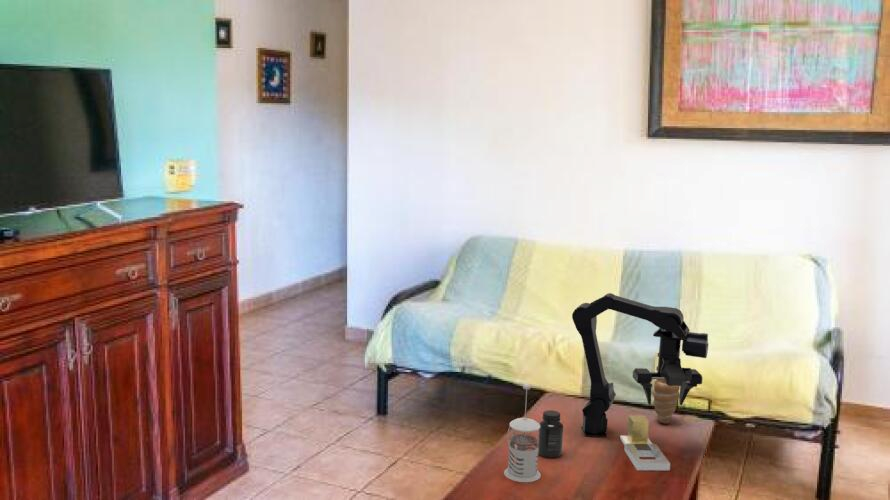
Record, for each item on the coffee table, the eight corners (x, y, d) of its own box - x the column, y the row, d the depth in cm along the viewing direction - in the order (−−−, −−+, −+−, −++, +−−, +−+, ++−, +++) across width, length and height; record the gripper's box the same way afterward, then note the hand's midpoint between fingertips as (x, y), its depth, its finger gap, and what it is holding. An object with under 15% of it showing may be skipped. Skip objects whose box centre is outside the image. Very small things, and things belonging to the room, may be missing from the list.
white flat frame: (637, 470, 224) (637, 463, 224) (624, 450, 237) (624, 443, 237) (669, 470, 225) (670, 463, 224) (655, 450, 237) (655, 443, 237)
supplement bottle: (564, 451, 235) (567, 411, 233) (557, 460, 229) (560, 419, 227) (541, 446, 238) (544, 406, 235) (534, 455, 232) (536, 414, 229)
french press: (516, 485, 214) (521, 392, 209) (493, 466, 224) (497, 378, 219) (548, 478, 218) (553, 387, 213) (524, 460, 228) (528, 373, 224)
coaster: (627, 449, 237) (627, 446, 237) (619, 438, 245) (620, 435, 245) (654, 449, 238) (654, 447, 238) (646, 438, 246) (646, 435, 246)
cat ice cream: (659, 415, 264) (664, 361, 261) (682, 422, 259) (686, 367, 255) (645, 422, 258) (649, 367, 254) (667, 430, 252) (672, 373, 249)
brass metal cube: (631, 444, 239) (633, 421, 238) (627, 437, 244) (628, 415, 242) (647, 444, 239) (648, 421, 238) (642, 438, 244) (644, 415, 243)
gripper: (645, 361, 228) (641, 414, 230) (711, 362, 229) (706, 415, 231) (634, 349, 238) (630, 400, 241) (697, 349, 240) (692, 401, 242)
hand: (664, 404), depth 239 cm, fingers open, 9 cm apart
